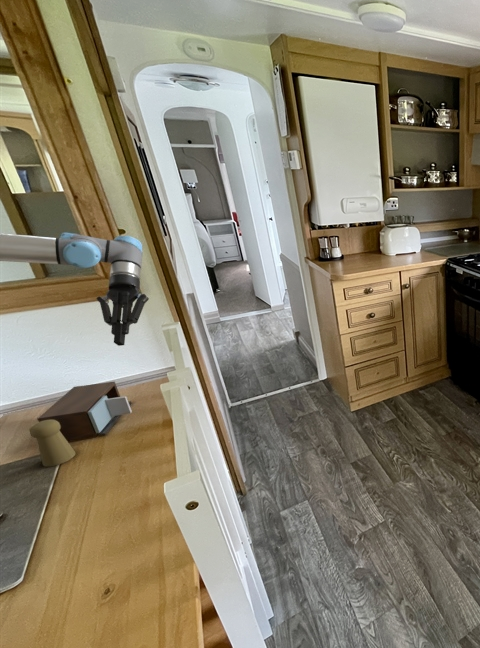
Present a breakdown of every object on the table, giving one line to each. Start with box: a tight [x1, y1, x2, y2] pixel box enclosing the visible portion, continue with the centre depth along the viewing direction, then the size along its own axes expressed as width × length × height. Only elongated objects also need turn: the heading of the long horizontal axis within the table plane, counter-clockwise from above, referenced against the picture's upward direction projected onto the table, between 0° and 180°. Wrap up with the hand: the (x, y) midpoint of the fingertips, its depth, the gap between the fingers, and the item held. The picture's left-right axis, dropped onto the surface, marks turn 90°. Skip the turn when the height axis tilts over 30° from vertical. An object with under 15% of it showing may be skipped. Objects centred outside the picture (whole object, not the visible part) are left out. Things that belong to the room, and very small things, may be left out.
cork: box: [29, 420, 76, 468], centre depth 95 cm, size 6×6×11 cm
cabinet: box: [37, 381, 132, 443], centre depth 111 cm, size 12×18×8 cm
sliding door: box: [88, 395, 133, 434], centre depth 109 cm, size 6×9×7 cm, turn 21°
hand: (119, 343), depth 116 cm, fingers closed
